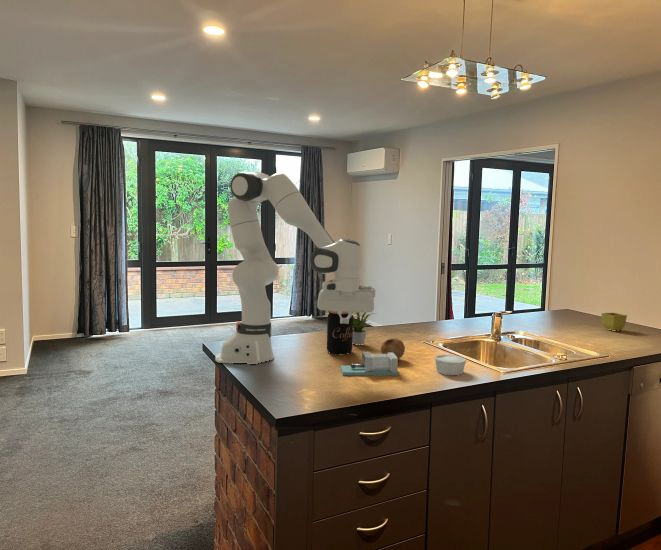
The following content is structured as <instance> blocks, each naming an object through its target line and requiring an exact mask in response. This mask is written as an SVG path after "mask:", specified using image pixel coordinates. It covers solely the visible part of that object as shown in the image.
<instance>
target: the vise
mask: <svg viewBox="0 0 661 550" xmlns="http://www.w3.org/2000/svg"><path fill="white" fill-rule="evenodd" d="M388 355H389V356H390V365H389V370H372V371H365V370H364V368H351V365H340V371H341V374H342V376H399V375H400V373H399V371H398V366H399V365H398V364H399V363H398V362H399V359H398V358H397V357H396V355H395V354H394V353H388Z"/></svg>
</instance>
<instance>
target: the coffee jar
mask: <svg viewBox="0 0 661 550" xmlns="http://www.w3.org/2000/svg"><path fill="white" fill-rule="evenodd" d="M327 312H328V314H327V317H326V318H327V319H326V320H327V323H326V324H327V327H326V329H327V330H326V351H327V352H328V353H329V352H330V354H331V353H333V354H332V355H335V354H345V355H348V354H347V353H349V354H351V352H352V351H353V345H352V341H353V329H354V328H353V317H354V314H352V316H351V317H350V319H349V324H343V323H340V316H339V314H338V311H329V310H327ZM348 315H349V314H348V311H342V314H341V316H342V318H347V317H348Z"/></svg>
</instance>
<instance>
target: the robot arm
mask: <svg viewBox="0 0 661 550" xmlns="http://www.w3.org/2000/svg"><path fill="white" fill-rule="evenodd" d="M229 188H230V192H231V195H232V196H233V197H232V198H230V200H229V201H228V203H227V213H228V214H227V215H228V221H229V225H230V226H229V227H230V231H231V233H232V234H231V235H232V238H233V239H232V240H233V243H234V246H235V248H236V250H237V251H239V253H240V254H241V256H242V258H243V260H244V261H241V262H239V263H238V264H237V265H236V266H234V268H233V270H232V280H233V283H234V285H235V286H236V287H237V288H238V289H237V290H238V292H239V298H240V303H241V321H237V322H236V324H235V327H236V330H235V331H236V332H235V333H233V334H232V335H231V336H229V337H228V338H227V339H225V341H224V342H223V343H222V346H221V351H220V352H218V353H216V354H215V358H214V359H215V362H217V364H218V363H219V364H221V363H222V364H233V363H247V364H246V365H250V364H256V365H259V364H261V362H262V363H266V362H265V361H267V362H270V361H272V360H274V359H275V356H274V355H275V354H274V352H273V346H272V334H273V333H272V332H273V327H272V326H273V325H272V322H271V306H272V305H271V302H270V300H269V297H268V296H267V290H266V286H268V285H271V284H272V283H273V282H274V281H276V279H277V277H278V275H279V266H278V265H277V263H276V261H274V260H273V258H272V256H271V254H270V251H269V249H268V247H267V246H266V243H265V240H264V236H263V232H262V229H261V224H260V219H259V217H258V206H264V205H265V204H267V203H268V202H270V203H271V205H272V206H273V208H274V209H275V211H276V213H277V215H278V216H279V217H280V219H282V220H283V221H284V222H285V223H286V224H288V225H290V226H293V227H295V228H298V229H300V230H301V231H303V232H304V233H306V234H307V236H308V237H310V239H311V241H312V242H313V244H314V245H315V246H316V247H317V248H316V249H314V250H313V251H312V253H311V255H310V258H309V264H310V266H311V268H312V270H313V271H314V272H316V273H318V274H323V275H324V274H325V275H326V274H331V273H333V274H335V275H334V278H333V279H330V280H326V281H323V282H322V285H321V288H322V289H320V291H319V292H318V298H317V304H316V307H317V309H318V310H319V311H328V310H329V311H338V314H339V316H340V323H343V324H349V319H350V317H351V316H352V315H353V313H356V312H359V313H364V312H367V313H373V312H374V310H375V302H374V301H375V300H374V298H375V297H376V289H375V288H374V287H373V286H370V285H369V286H366V285H360V281H361V275H360V269H361V267H362V246H361V245H360V243H359V242H357V241H356V240H353V239H347V238H340V239H339V240H338V241H335V240H333V238H332V237H331V236H330V234H329V233H328V231H327V230H326V229H325V227H324V226H323V225H322V223H321V222H320V221H319V219H318V218H317V216H316V215H315V213H314V212H313V211H312V209H311V208H310V206H309V205H308V203H307V201H306V199H305V198H304V196H303V195H302V193H301V192H300V190H299V188H298V187H297V186H296V184H294V182H293V181H292V180H291V179H290V178H289V177H288V176H287V175H286V174H285V173H281V172H277V173H274V174H272V175H270V174H269V173H263V172H260V171H259V172H258V171H241V172H237V173H236V174H235V175H234V176H232V178H231V180H230V185H229ZM342 311H348V314H349V315H348V317H347V318H342V316H341V314H342ZM273 358H274V359H273ZM269 360H270V361H269ZM258 363H259V364H258Z"/></svg>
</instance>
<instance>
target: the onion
mask: <svg viewBox="0 0 661 550" xmlns="http://www.w3.org/2000/svg"><path fill="white" fill-rule="evenodd" d="M405 349H406V347H405V344H404V342H403V341H402V340H401V339H399V338H396V337H392V338H388V339H386V340H385V341H383V342H382V344H381V346H380V352H381V353H380V354H388V353H394V354H395V355H396V357H397V358H398V360H399V359H401V358H402V357H403V355H405V351H406V350H405Z"/></svg>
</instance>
